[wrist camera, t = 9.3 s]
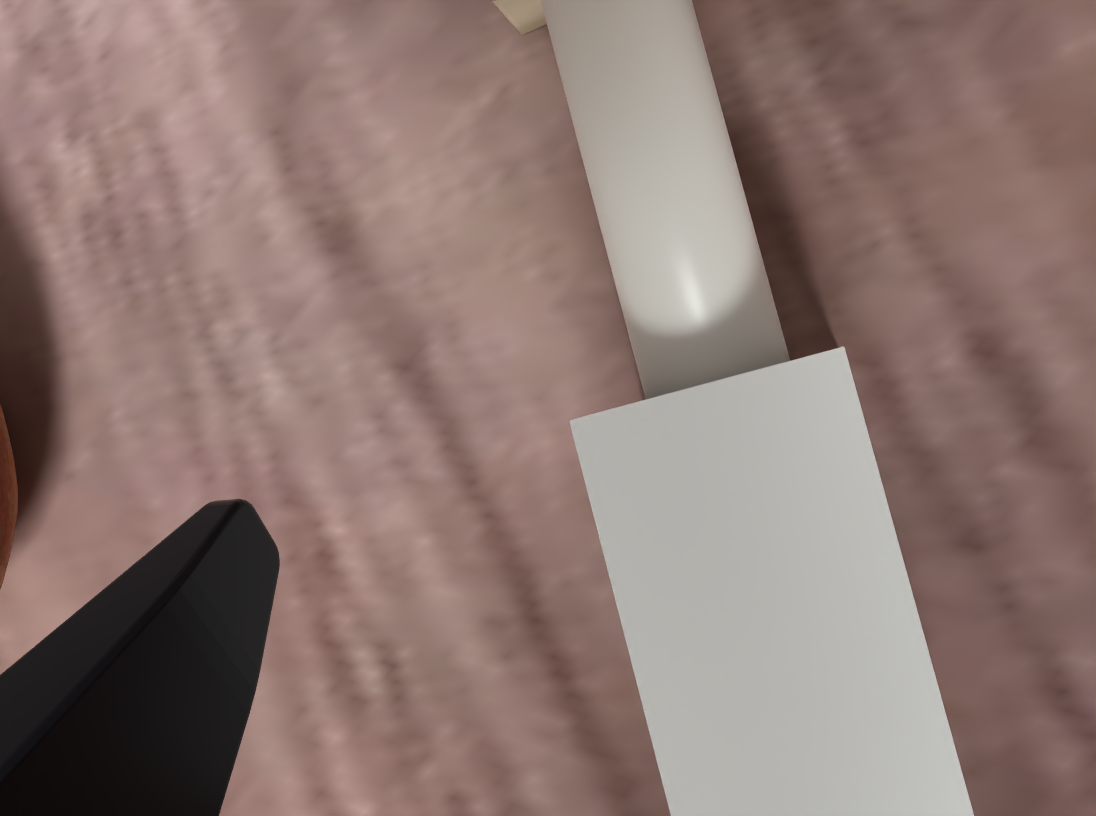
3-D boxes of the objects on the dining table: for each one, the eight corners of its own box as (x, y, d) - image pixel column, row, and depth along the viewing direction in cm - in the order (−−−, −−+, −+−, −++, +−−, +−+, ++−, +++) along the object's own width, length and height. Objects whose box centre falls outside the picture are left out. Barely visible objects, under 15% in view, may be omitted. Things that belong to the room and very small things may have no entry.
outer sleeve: (943, 727, 20) (991, 881, 14) (733, 753, 22) (693, 902, 15) (841, 356, 20) (843, 346, 14) (643, 409, 22) (568, 420, 16)
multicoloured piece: (818, 453, 18) (788, 586, 6) (683, 484, 19) (441, 649, 7) (629, -238, 19) (297, -1240, 7) (509, -176, 20) (43, -973, 8)
